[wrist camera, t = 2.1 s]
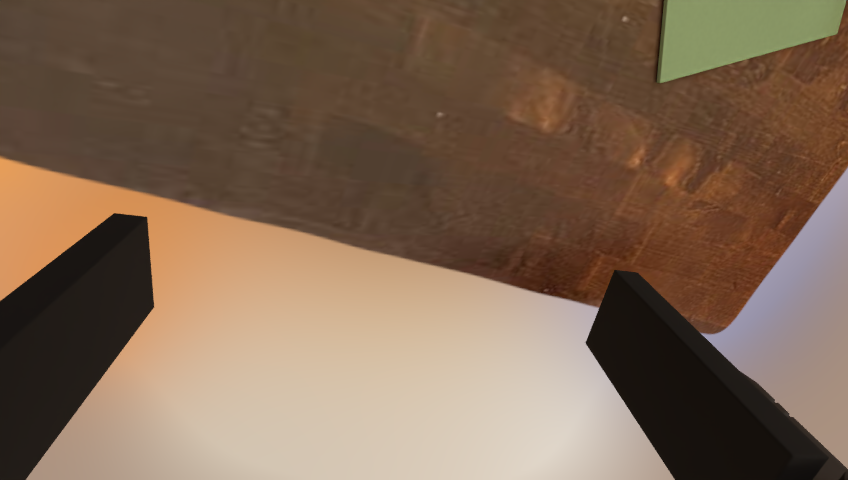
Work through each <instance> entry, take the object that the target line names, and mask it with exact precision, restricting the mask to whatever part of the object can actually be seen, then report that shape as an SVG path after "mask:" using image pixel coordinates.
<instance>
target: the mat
mask: <svg viewBox="0 0 848 480" xmlns="http://www.w3.org/2000/svg"><path fill="white" fill-rule="evenodd" d="M845 4H846V0H664V7H663V18H662V29H661V40H660V51H659V62H658V73H657V83H662V82H666V81H670V80H673V79H677V78H680V77H684V76H688V75H691V74H695V73H698V72H702V71H706V70H709V69H713V68H716V67H720V66H724V65H727V64H731V63H734V62H738V61H742V60H745V59H749V58H752V57H756V56H760V55H763V54H767V53H771V52H774V51H778V50H781V49H785V48H789V47H792V46H796V45H799V44H803V43H807V42H810V41H814V40H817V39H821V38H825V37H828V36H832V35H835V34H837V33H838V29H839V25H840V22H841V18H842V15H843V11H844V7H845Z"/></svg>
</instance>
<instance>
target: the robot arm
mask: <svg viewBox="0 0 848 480" xmlns="http://www.w3.org/2000/svg"><path fill="white" fill-rule="evenodd" d="M153 308H154V301H153V288H152V275H151V262H150V249H149V236H148V223H147V217H142V216H134V215H124V214H116V213H114V214H113V215H112V216H110V217H109V218H108V219H106V220H105V221H104V222H103V223H101V224H100V225H98V226H97V227H96V228H95V229H93V230H92V231H91V232H90V233H88V234H87V235H86V236H84V237H83V238H82V239H80V240H79V241H78V242H76V243H75V244H74V245H73V246H71V247H70V248H69V249H67V250H66V251H65V252H63V253H62V254H61V255H60V256H58V257H57V258H56V259H55V260H53V261H52V262H51V263H49V264H48V265H47V266H46V267H44V268H43V269H41V270H40V271H39V272H38V273H36V274H35V275H34V276H32V277H31V278H30V279H28V280H27V281H26V282H25V283H23V284H22V285H21V286H19V287H18V288H17V289H15V290H14V291H13V292H12V293H10V294H9V295H8V296H6V297H5V298H4V299H3V300H1V301H0V480H26V478H27V477H28V476H29V474H30V473H31V472H32V470H33V469H34V468H35V466H36V465H37V463H38V462H39V461H40V460H41V458H42V457H43V456H44V454H45V453H46V451H47V450H48V449H49V447H50V446H51V444H52V443H53V442H54V441H55V439H56V438H57V437H58V435H59V434H60V433H61V431H62V430H63V429H64V427H65V426H66V425H67V423H68V422H69V421H70V419H71V418H72V416H73V415H74V414H75V413H76V411H77V410H78V408H79V407H80V406H81V404H82V403H83V402H84V400H85V399H86V398H87V396H88V395H89V394H90V392H91V391H92V389H93V388H94V387H95V386H96V384H97V383H98V382H99V380H100V379H101V378H102V376H103V375H104V374H105V372H106V371H107V370H108V368H109V367H110V365H111V364H112V363H113V361H114V360H115V359H116V357H117V356H118V355H119V353H120V352H121V351H122V349H123V348H124V347H125V345H126V344H127V343H128V341H129V340H130V338H131V337H132V336H133V335H134V333H135V332H136V330H137V329H138V328H139V326H140V325H141V324H142V322H143V321H144V320H145V318H146V317H147V316H148V314H149V313H150V312H151V310H152V309H153ZM586 344H587V346H588V348H589V349H590V350H591V352H592V353H593V355H594V356H595V358H596V360H597V361H598V363H599V364H600V366H601V367H602V369H603V370H604V372H605V373H606V375H607V377H608V378H609V380H610V381H611V383H612V384H613V385H614V387H615V389H616V390H617V392H618V393H619V395H620V396H621V398H622V399H623V401H624V402H625V404H626V405H627V407H628V409H629V410H630V412H631V413H632V415H633V416H634V418H635V419H636V421H637V422H638V424H639V425H640V427H641V428H642V430H643V431H644V433H645V434H646V436H647V438H648V439H649V440H650V442H651V443H652V445H653V447H654V448H655V450H656V451H657V453H658V454H659V456H660V457H661V459H662V460H663V462H664V463H665V465H666V467H667V468H668V470H669V471H670V473H671V474H672V476H673V477H674V479H675V480H848V469H847V468H846V467H845V466H844V465H843V464H842V463H841V462H840V461H839V460H838V459H836V458H835V457H834V456H833V455H832V454H831V453H830V452H829V451H828V450H827V449H826V448H825V447H824V446H823V445H822V444H821V443H820V442H819V441H818V440H816V439H815V438H814V437H813V436H812V435H811V434H810V433H809V432H808V431H807V430H806V429H805V428H804V427H803V426H802V425H801V424H800V423H799V422H797V421H796V419H794V418H793V417H790V416H789V413H788V412H787V411H786V410H785V409H784V408H783V407H782V406H781V405H780V404H779V403H775V402H774V401H775V400H774V399H773V398H772V397H771V396H770V395H769V394H768V393H767V392H766V391H765V390H764V389H763V388H762V387H761V386H760V385H759V384H757V383H756V382H755V381H753V380H752V379H751V378H749V377H748V376H746V375H745V374H743V373H742V372H740V371H739V370H738V369H737V368H736V367H735V366H734V365H732V363H731V362H729V361H728V360H727V359H726V358H725V357H724V356H723V355H722V354H721V353H720V352H719V351H718V350H717V349H716V348H715V347H714V346H713V345H712V344H711V343H710V342H709V341H708V340H707V339H706V338H705V337H704V336H702V335H701V334H700V333H699V332H698V331H697V330H696V329H695V328H694V327H693V326H692V325H691V324H690V323H689V322H688V321H687V320H686V319H685V318H684V317H683V316H682V315H681V314H680V313H679V312H678V311H677V310H676V309H675V308H674V307H672V306H671V305H670V304H669V303H668V302H667V301H666V300H665V299H664V298H663V297H662V296H661V295H660V294H659V293H658V292H657V291H656V290H655V289H654V288H653V287H652V286H651V285H650V284H649V283H648V282H647V281H646V280H645V279H643V278H642V277H641V276H640V275H639V274H638V273H636V272H628V271H619V270H614V273H613V275H612V278H611V280H610V283H609V285H608V288H607V290H606V293H605V295H604V298H603V300H602V303H601V305H600V308H599V311H598V313H597V316H596V318H595V321H594V323H593V326H592V328H591V331H590V333H589V336H588V338H587V341H586Z"/></svg>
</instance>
